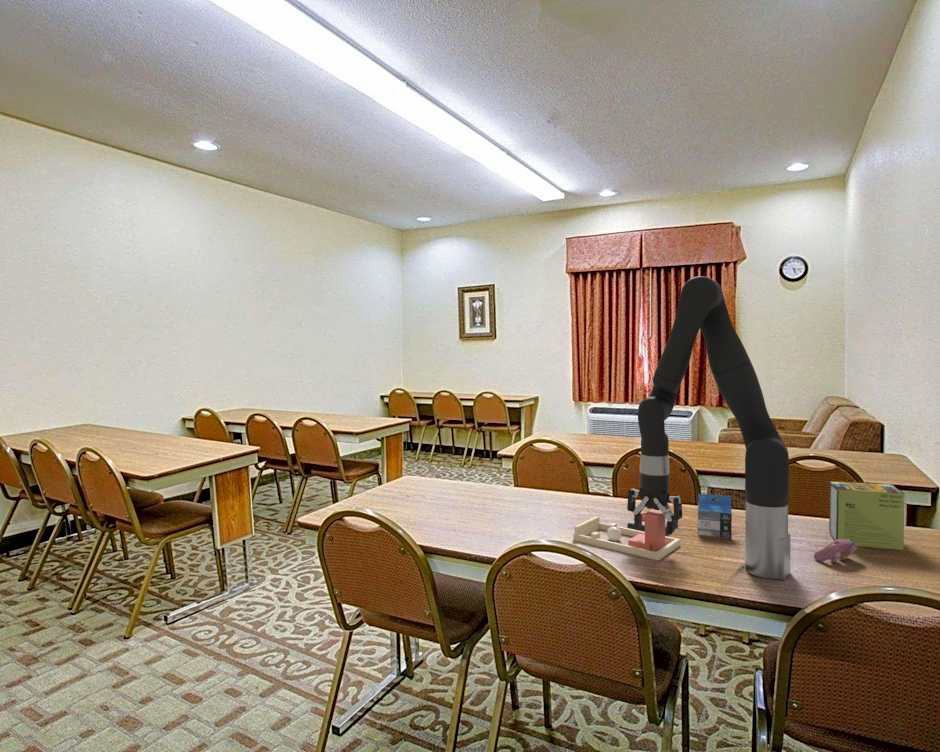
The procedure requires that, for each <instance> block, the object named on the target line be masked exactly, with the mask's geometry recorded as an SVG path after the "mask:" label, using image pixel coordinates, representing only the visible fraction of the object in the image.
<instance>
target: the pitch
mask: <svg viewBox="0 0 940 752" xmlns="http://www.w3.org/2000/svg"><path fill="white" fill-rule="evenodd" d="M610 527H617V528H619V529H620V531H621V535H625V536H631V537H634V536H636V535H638V534H645V532H643V531H638V530H633V529H629V528H627V527H623V526H618V523H615V522H610V523H609V524H608V523H605V522H600V516H597V515H596V516H594V517H591V518H590V519H587V520H585V521H583V522H581V523H579V524H577V525H574V533H573V534H572V535H573V536H572V538H573V541H575V542H579V543H584V544H589V545H591V546H592V545H593V546H596V547H601V548H605V549H609V550H613V551H618V552H622V553H626V554H629V555H634V556H639V557H643V558H646V559H650V560H655V561H660V560H662V559H663V558H665V557H666V556H668V555H669V554H670V553H671V552H673V551H674V550H676V549H677V548H679V547H680V546H681V539H680V538H676V537H671V536H668V535H666V536H665V546H664V547H663V548H661V549H660V550H658V551H657V552H654V551H650V550H645V549H641V548H637V547H632V546H628V544H622V543H619V542H616V541H611V540H610V541H609V540H606V539H601V533H600V532H598V531H599V530H602V531H606V532H607V531H608V529H609V528H610ZM589 535H590V536H589Z"/></svg>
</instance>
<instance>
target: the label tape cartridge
mask: <svg viewBox="0 0 940 752" xmlns="http://www.w3.org/2000/svg"><path fill="white" fill-rule="evenodd" d="M697 495H698V499H697V500H698V502H697V535H698V536H706V537H714V538H720V539H723V540H728V541H729V540H730V541H732V523H733V522H732V521H733V520H732V518H733V517H732V515H733V514H732V505H731V497H732V496H731V495H722V494H721V495H720V494H707V493H698V494H697ZM713 499H715V500H713ZM717 500H719V501H717Z"/></svg>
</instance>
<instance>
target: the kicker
mask: <svg viewBox="0 0 940 752" xmlns="http://www.w3.org/2000/svg"><path fill="white" fill-rule="evenodd" d="M644 513H645V534H638V535H636V536H632V537H631V538H629V539H628V540H627V541H628V542H627V545H628V546H632V547H637V548H641V549H645V550H650V551H654V552H657V551H658V550H660V549H661V548H663V547H664V546H666V543H665V515H664V514H662V512H661V511H660V510H655V509H649V510H648V511H646V512H644Z"/></svg>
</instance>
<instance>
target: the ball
mask: <svg viewBox="0 0 940 752" xmlns="http://www.w3.org/2000/svg"><path fill="white" fill-rule="evenodd" d="M606 536H607V539H609V540H610V542H618V541H619V540H620V539H621V538H622V534H621V531H620V529H619V528H617V527H610V528H609V529H608V531H606Z"/></svg>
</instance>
